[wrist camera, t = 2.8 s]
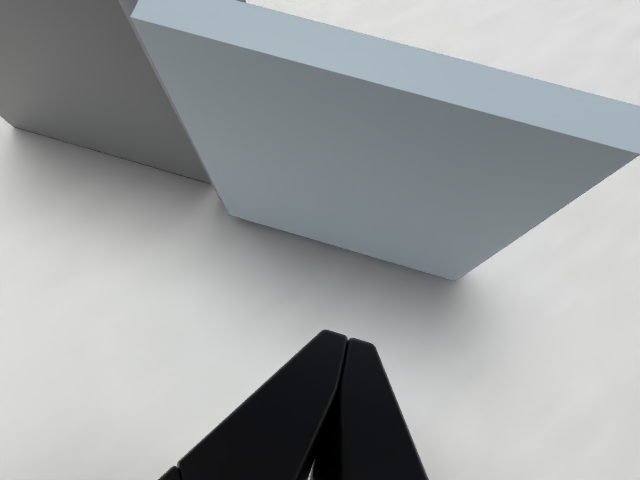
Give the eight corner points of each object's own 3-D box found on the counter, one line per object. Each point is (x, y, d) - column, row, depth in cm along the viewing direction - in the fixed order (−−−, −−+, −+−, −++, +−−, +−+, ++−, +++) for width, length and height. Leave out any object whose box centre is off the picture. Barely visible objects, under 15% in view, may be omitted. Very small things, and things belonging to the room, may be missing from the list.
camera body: (464, 260, 17) (677, 94, 7) (11, 128, 18) (-347, -172, 8) (498, 107, 19) (707, -197, 9) (83, -5, 20) (-141, -382, 10)
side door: (455, 280, 16) (640, 154, 7) (210, 209, 17) (88, 6, 8) (462, 248, 16) (649, 86, 7) (221, 178, 17) (119, -52, 8)
